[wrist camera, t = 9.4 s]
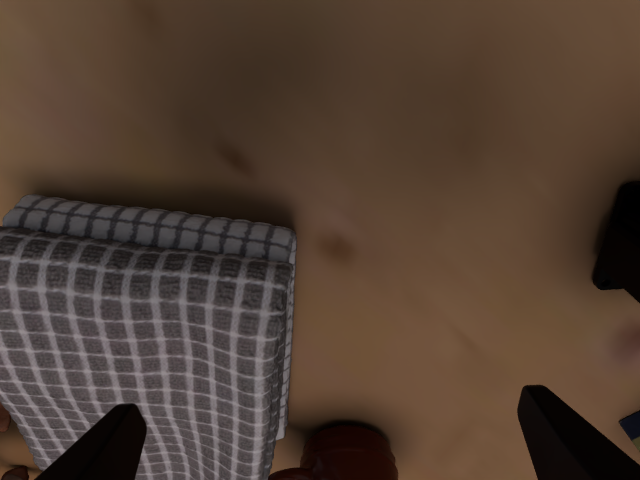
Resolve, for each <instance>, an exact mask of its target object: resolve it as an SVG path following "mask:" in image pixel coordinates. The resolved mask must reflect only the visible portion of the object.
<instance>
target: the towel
mask: <svg viewBox="0 0 640 480" xmlns="http://www.w3.org/2000/svg"><path fill="white" fill-rule="evenodd" d="M296 250H297V237H296V233H295V232H294V231H293V230H291V229H289V228H285V227H280V226H272V225H271V224H268V223H262V222H255V223H253V222H251V221H248V220H240V219H236V220H232V219H229V218H225V217H215V218H212V217H210V216H204V215H199V214H194V215H190V214H188V213H186V212H181V211H174V212H170V211H167V210H163V209H147V208H142V207H124V206H119V205H117V206H115V205H111V206H108V205H102V204H94V203H93V204H89V203H87V202H80V201H70V200H66V199H63V198H58V197H49V198H48V197H45V196H41V195H37V194H32V195H25V196H23V197H22V198H21V199H20V202H19V203H17V204H16V205H15V207H14V208H13V209H12V210H10V211H9V212H8V213H7V214H6V215H5V216H4V218H3V227H2V226H0V402H1V404H2V405H3V407H4V408H5V409H6V410H7V411H9V412H10V413H9V414H10V415H11V417H12V419H13V420H14V421H15V422H16V423H17V427H18V428H19V432H20V433H21V434H22V435H23V439H25V441H26V444H27V445H28V448H29V450H30V451H29V452H30V453H32V454H33V456H34V457H33V461H34V462H35V464H36V465H37V466H38V467H39V469H40V470H43V471H44V470H45V469H46V468H47V467H49V466H50V465H51V464H52V463H53V462H54V461H55V460H56V459H57V458H58V457H59V456H61V455H62V454H63V453H64V452H65V451H66V450H67V449H68V448H69V447H70V446H72V445H73V444H74V443H75V442H76V441H77V440H78V439H79V438H80V437H81V436H82V435H84V434H85V433H86V432H87V431H88V430H89V429H90V428H91V427H92V426H93V425H95V424H96V423H97V422H98V421H99V420H100V419H101V418H102V417H103V416H104V415H106V414H107V413H108V412H109V411H110V410H111V409H112V408H113V407H114V406H116V405H118V404H122V403H134V404H136V405H137V406H138V408H139V410H140V412H141V414H142V416H143V418H144V420H145V422H146V425H147V434H146V438H145V442H144V446H143V450H142V454H141V458H140V462H139V466H138V469H137V473H136V477H135V480H268V476H269V474H270V469H271V468H272V467H271V466H272V460H273V458H274V448H275V445H276V440H279V439H282V438H284V437H285V428H286V425H287V424H288V406H287V403H288V395H289V383H290V370H291V369H290V367H291V361H292V359H291V350H292V333H293V312H294V281H295V271H296V259H295V256H296Z"/></svg>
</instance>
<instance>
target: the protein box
mask: <svg viewBox="0 0 640 480" xmlns="http://www.w3.org/2000/svg"><path fill="white" fill-rule="evenodd" d="M620 425H621V427H622V428H623V429H624V431H625V432H626V434H627V435H628V436H629V438H630V439H631V441H632V442H633V443H634V445H635V446H636V448H637V449H638V450H639V452H640V411H639V412H637V413H635V414H633V415H631V416H629V417H627V418H624V419H623V420H621V421H620Z"/></svg>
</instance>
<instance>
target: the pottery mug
mask: <svg viewBox="0 0 640 480" xmlns="http://www.w3.org/2000/svg"><path fill="white" fill-rule="evenodd" d="M9 413H10V412H9V411H7V410H6V409H5V408H4V407H3V405H2V404H1V402H0V432H5V431H7V430H8V428H9V425H10V421H11V415H10V414H9ZM28 479H29V475H28V471H27V468H26V466H21V467H19V468H14V469H12V470H9V471H7V472H6V473H5V474H4V475H3V476H2V478H1V480H28Z"/></svg>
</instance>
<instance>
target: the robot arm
mask: <svg viewBox="0 0 640 480" xmlns="http://www.w3.org/2000/svg"><path fill="white" fill-rule="evenodd" d="M632 190H634V192H633V193H632V194H631V195H629V193H630V192H631V191H632ZM604 280H605V281H604ZM603 281H604V282H603ZM593 284H594V285H595V286H596V287H597V288H598V289H600V290H612V289H625V290H626V291H627V292H628V293H629V294H630V295H631V296H632V297H633V298H635V299H636V300H637V301H638V302H639V303H640V181H636V182H629V183H626V184H625V185H623V186H622V187H621V188H620V190H619V192H618V195H617V199H616V202H615V206H614V209H613V212H612V216H611V219H610V223H609V226H608V228H607V231H606V235H605V238H604V241H603V245H602V248H601V252H600V255H599V258H598V262H597V267H596V270H595V274H594V277H593ZM517 413H518V419H519V422H520V425H521V428H522V432H523V435H524V438H525V441H526V444H527V447H528V450H529V453H530V456H531V459H532V463H533V466H534V469H535V472H536V475H537V478H538V480H640V465H639V464H638V463H636V462H635V461H634V460H633V459H632V458H630V457H629V456H628V455H627V454H626V453H624V452H623V451H622V450H621V449H620V448H618V447H617V446H616V445H615V444H614V443H612V442H611V441H610V440H609V439H608V438H606V437H605V436H604V435H603V434H602V433H601V432H599V431H598V430H597V429H596V428H595V427H593V426H592V425H591V424H590V423H589V422H587V421H586V420H585V419H584V418H583V417H581V416H580V415H579V414H578V413H577V412H575V411H574V410H573V409H572V408H571V407H569V406H568V405H567V404H566V403H565V402H564V401H562V400H561V399H560V398H559V397H558V396H556V395H555V394H554V393H553V392H552V391H550V390H549V389H548V388H547V387H545V386H543V385H526V386H524V387H523V388H522V391H521V396H520V400H519V404H518V409H517ZM146 434H147V425H146V422H145V420H144V418H143V416H142V414H141V412H140V410H139V408H138V406H137V405H136V404H134V403H122V404H118V405H116V406H114V407H113V408H112V409H111V410H110V411H109V412H108V413H107V414H106V415H104V416H103V417H102V418H101V419H100V420H99V421H98V422H97V423H96V424H95V425H93V426H92V427H91V428H90V429H89V430H88V431H87V432H86V433H85V434H84V435H82V436H81V437H80V438H79V439H78V440H77V441H76V442H75V443H74V444H73V445H72V446H70V447H69V448H68V449H67V450H66V451H65V452H64V453H63V454H62V455H61V456H59V457H58V458H57V459H56V460H55V461H54V462H53V463H52V464H51V465H50V466H49V467H47V468H46V469H45V470H44V471H43V472H42V473H41V474H40V475H39V476H38V477H36V478H35V479H34V480H135V477H136V473H137V469H138V466H139V462H140V458H141V454H142V450H143V446H144V442H145V438H146Z"/></svg>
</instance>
